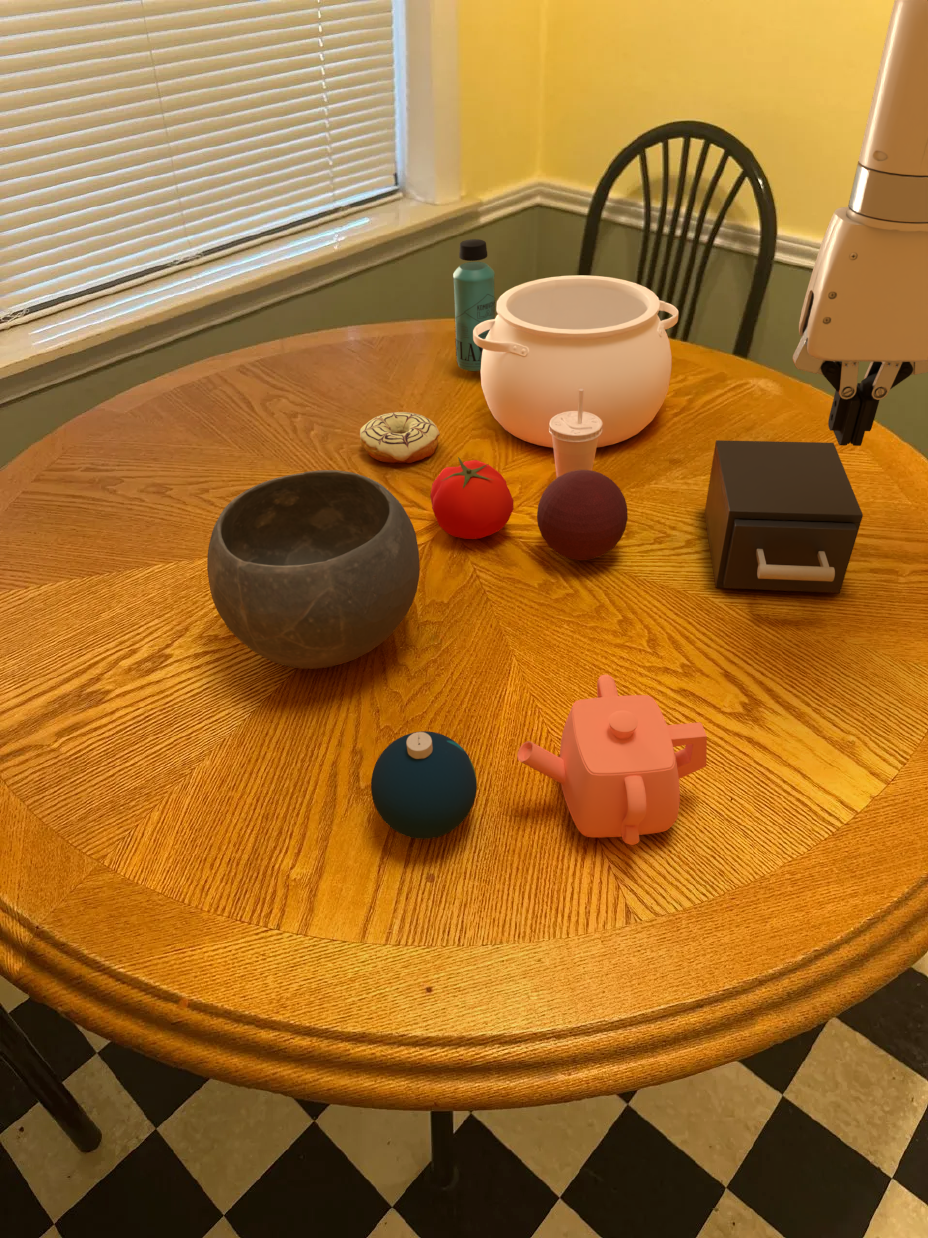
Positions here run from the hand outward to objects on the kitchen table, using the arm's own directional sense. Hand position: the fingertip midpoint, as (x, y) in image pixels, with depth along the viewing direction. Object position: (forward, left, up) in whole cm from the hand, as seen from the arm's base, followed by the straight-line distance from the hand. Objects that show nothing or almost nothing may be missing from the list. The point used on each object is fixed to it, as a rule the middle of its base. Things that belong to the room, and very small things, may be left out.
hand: (846, 437), depth 70 cm
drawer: (-2, -13, -22) cm, 26 cm away
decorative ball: (+18, -19, -23) cm, 35 cm away
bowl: (+46, -7, -23) cm, 52 cm away
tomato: (+30, -25, -23) cm, 45 cm away
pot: (+14, -53, -23) cm, 59 cm away
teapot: (+21, +16, -23) cm, 35 cm away
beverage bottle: (+27, -70, -23) cm, 78 cm away
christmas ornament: (+36, +17, -23) cm, 46 cm away
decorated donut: (+39, -46, -23) cm, 64 cm away
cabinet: (-3, -17, -23) cm, 29 cm away
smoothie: (+17, -32, -23) cm, 43 cm away
